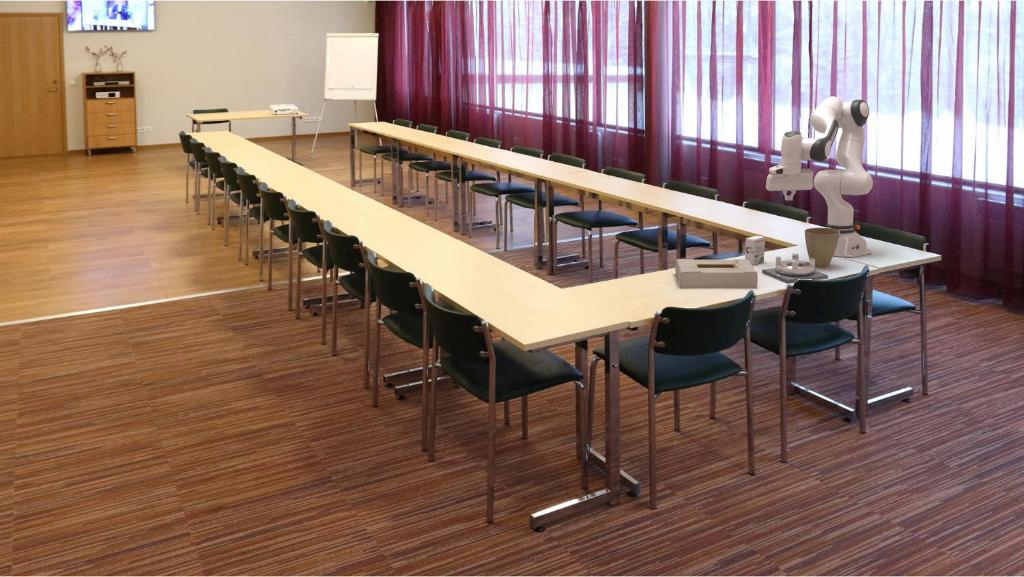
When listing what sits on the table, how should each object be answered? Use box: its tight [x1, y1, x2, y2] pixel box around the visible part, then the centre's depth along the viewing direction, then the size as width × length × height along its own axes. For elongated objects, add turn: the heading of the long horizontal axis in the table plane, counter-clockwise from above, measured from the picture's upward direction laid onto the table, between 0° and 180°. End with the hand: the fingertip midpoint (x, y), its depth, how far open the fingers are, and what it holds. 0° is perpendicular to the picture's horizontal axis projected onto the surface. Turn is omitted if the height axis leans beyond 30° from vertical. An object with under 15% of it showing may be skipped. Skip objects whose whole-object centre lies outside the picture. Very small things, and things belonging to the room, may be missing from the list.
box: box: [674, 258, 759, 289], centre depth 404 cm, size 23×8×32 cm
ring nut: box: [774, 253, 816, 276], centre depth 409 cm, size 16×16×6 cm
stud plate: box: [761, 267, 829, 284], centre depth 410 cm, size 20×19×2 cm
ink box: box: [744, 235, 766, 266], centre depth 432 cm, size 8×5×12 cm, turn 131°
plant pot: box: [804, 227, 840, 269], centre depth 423 cm, size 15×15×16 cm
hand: (788, 200), depth 422 cm, fingers closed
